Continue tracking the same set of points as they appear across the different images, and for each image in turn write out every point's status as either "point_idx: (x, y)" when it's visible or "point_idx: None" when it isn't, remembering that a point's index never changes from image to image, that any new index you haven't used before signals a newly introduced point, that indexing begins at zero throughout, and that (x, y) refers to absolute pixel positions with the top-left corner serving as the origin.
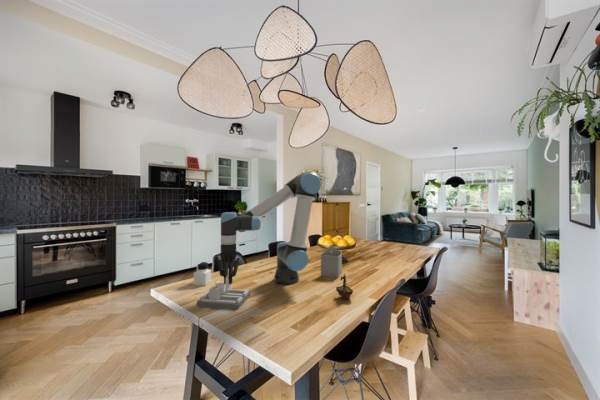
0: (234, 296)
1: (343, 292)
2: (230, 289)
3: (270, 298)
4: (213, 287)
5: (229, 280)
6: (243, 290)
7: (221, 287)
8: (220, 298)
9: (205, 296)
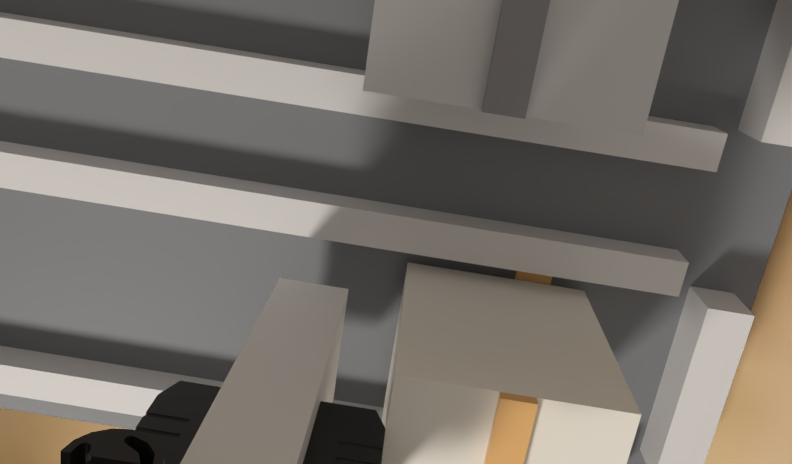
0: (66, 49)
1: None
2: None
3: None
4: (607, 37)
5: (185, 447)
6: (3, 372)
7: (442, 326)
8: None
9: (763, 84)
